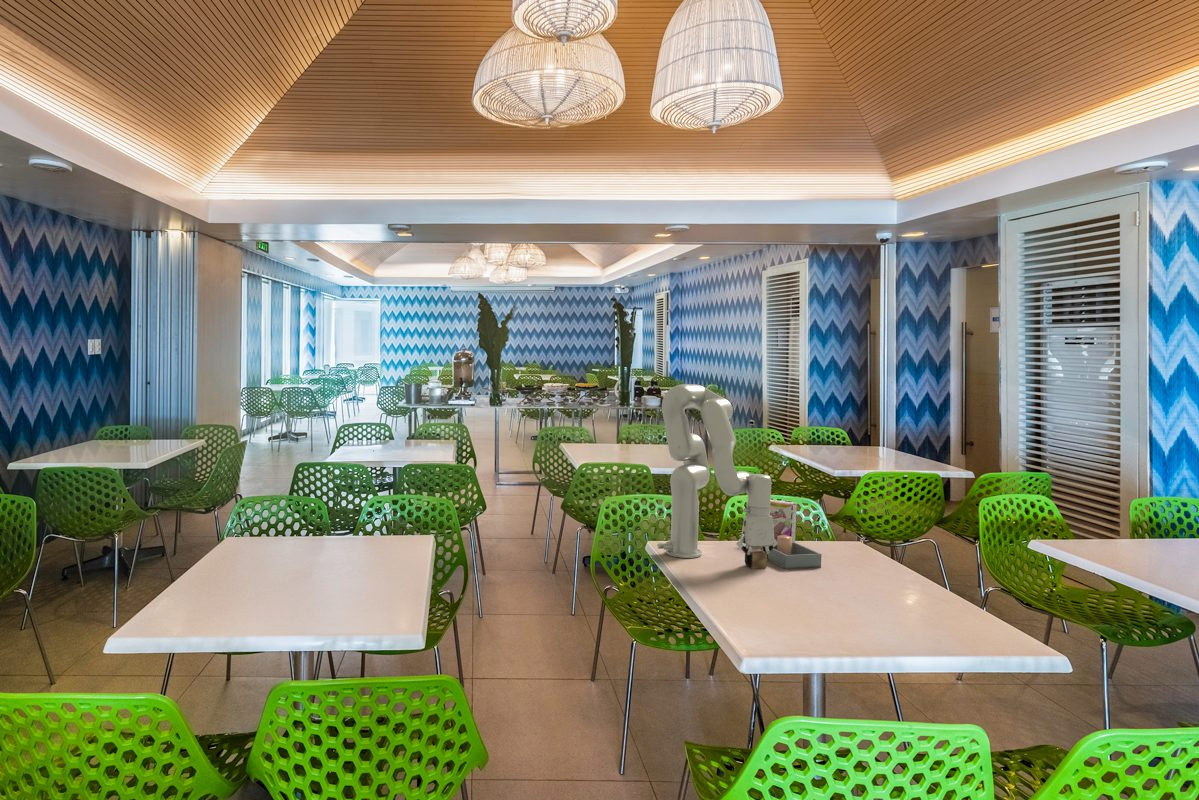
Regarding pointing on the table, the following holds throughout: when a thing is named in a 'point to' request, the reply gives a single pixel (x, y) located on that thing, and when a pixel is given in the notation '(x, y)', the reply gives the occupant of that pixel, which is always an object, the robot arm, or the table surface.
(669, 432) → the robot arm
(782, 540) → the terracotta cylinder
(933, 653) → the table surface
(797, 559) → the grey tote
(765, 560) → the walnut cube
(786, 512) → the candy bar box
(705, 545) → the table surface
